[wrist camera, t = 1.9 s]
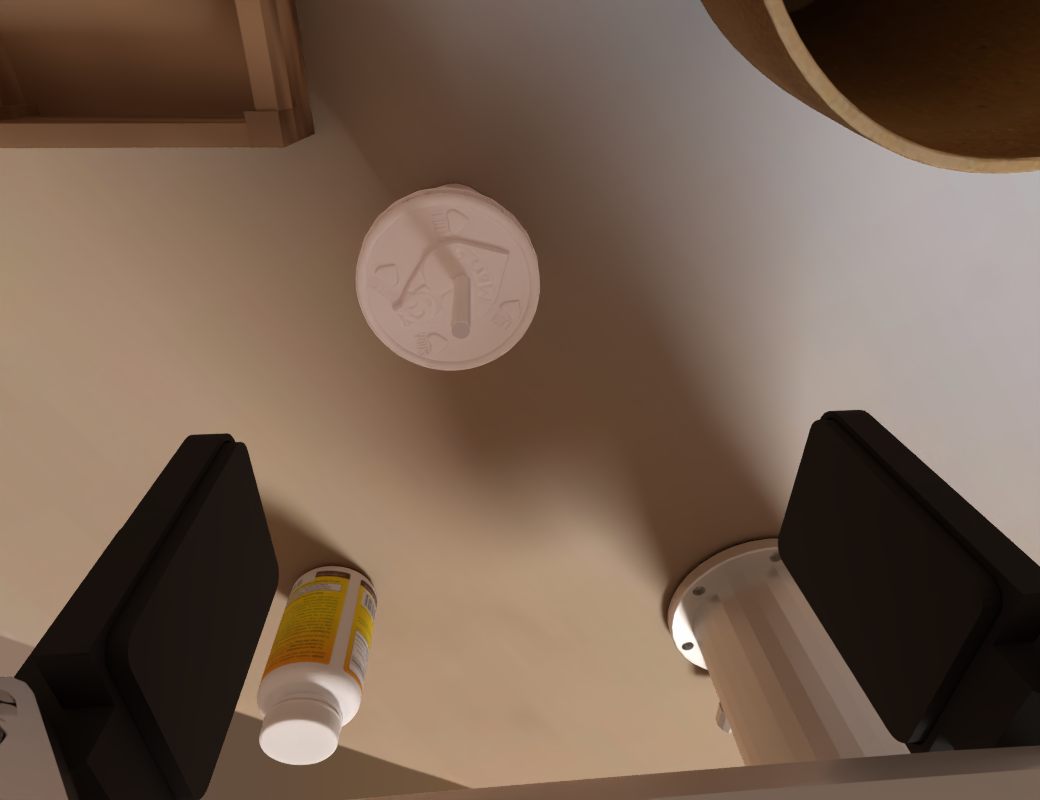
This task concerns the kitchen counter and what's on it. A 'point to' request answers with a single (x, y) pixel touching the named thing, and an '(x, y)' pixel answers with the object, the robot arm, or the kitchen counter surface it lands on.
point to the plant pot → (906, 72)
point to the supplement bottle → (316, 665)
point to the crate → (151, 74)
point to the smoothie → (448, 278)
